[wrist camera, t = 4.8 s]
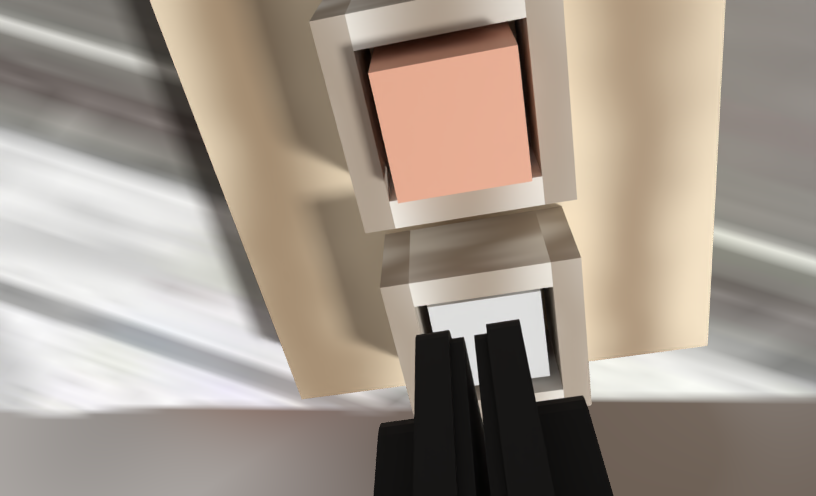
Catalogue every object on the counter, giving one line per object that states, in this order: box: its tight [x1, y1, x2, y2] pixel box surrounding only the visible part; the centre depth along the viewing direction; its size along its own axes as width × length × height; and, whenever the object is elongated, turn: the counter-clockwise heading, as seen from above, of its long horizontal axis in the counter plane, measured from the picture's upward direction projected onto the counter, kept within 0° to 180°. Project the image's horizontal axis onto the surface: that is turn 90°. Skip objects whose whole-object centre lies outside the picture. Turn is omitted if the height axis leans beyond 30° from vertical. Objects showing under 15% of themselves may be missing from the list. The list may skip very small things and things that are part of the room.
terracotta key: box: [368, 21, 532, 203], centre depth 20 cm, size 4×4×3 cm
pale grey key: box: [427, 289, 550, 386], centre depth 26 cm, size 4×4×3 cm
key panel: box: [150, 0, 725, 419], centre depth 24 cm, size 18×18×7 cm
